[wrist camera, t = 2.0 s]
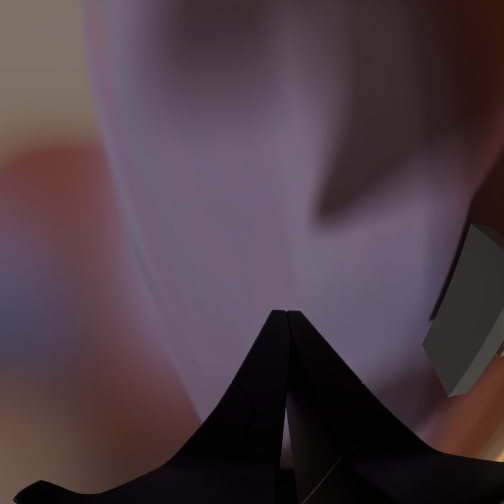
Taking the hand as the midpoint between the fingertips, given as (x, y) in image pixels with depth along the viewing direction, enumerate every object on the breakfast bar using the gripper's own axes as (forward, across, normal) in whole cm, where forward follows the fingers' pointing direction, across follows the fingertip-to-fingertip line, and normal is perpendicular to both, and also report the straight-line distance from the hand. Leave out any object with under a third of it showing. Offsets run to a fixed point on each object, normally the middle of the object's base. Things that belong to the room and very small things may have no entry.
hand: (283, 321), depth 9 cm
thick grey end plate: (+2, -14, -1) cm, 14 cm away
